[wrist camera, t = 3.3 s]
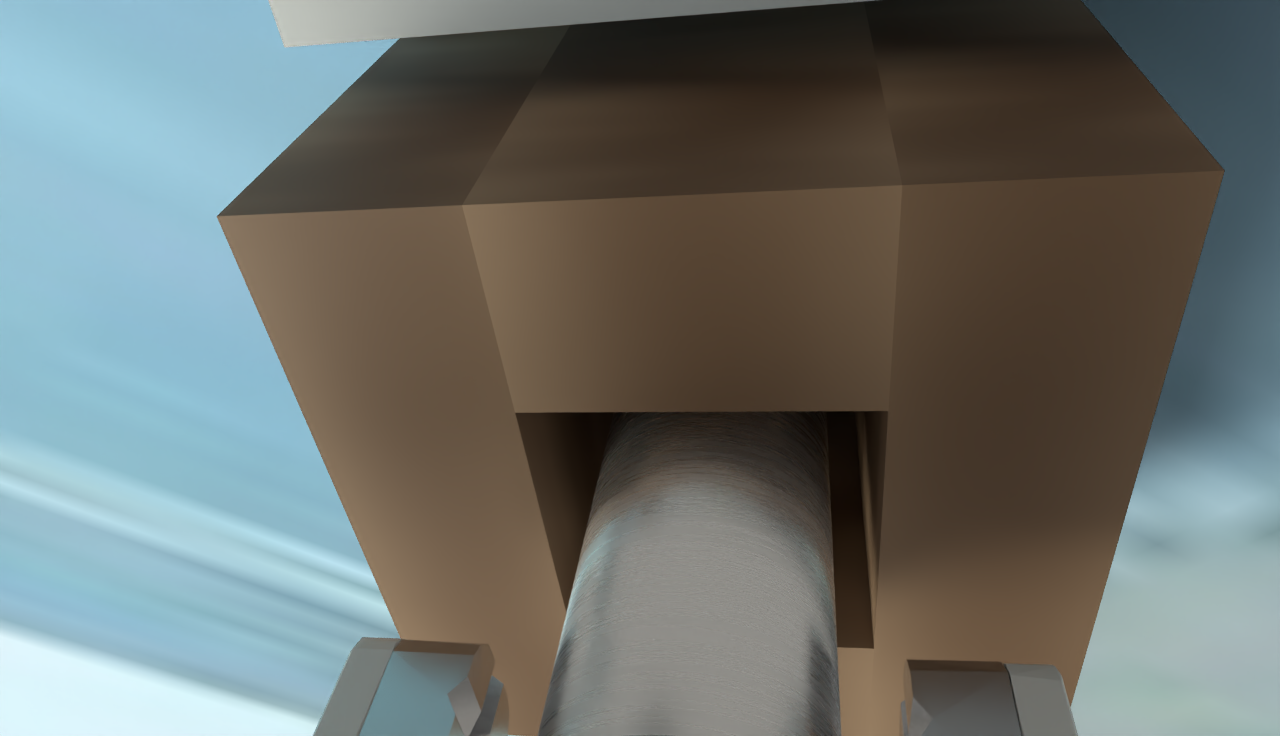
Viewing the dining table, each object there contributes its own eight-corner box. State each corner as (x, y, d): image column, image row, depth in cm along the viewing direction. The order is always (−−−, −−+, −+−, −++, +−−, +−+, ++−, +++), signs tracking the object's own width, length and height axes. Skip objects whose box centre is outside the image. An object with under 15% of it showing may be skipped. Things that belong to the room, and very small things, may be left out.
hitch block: (520, 485, 21) (441, 731, 16) (400, 36, 15) (217, 217, 10) (988, 490, 19) (1053, 766, 14) (1067, -16, 13) (1224, 169, 8)
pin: (654, 363, 18) (524, 1032, 9) (635, 217, 16) (448, 887, 7) (820, 361, 17) (849, 1069, 9) (820, 210, 16) (860, 924, 7)
